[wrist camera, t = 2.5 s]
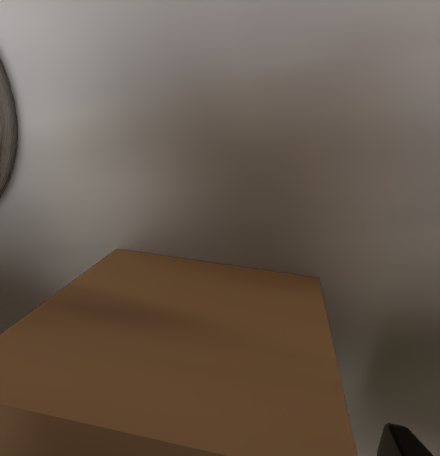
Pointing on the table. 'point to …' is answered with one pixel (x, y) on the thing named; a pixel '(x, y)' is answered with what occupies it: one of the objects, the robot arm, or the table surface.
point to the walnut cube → (174, 365)
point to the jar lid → (7, 129)
